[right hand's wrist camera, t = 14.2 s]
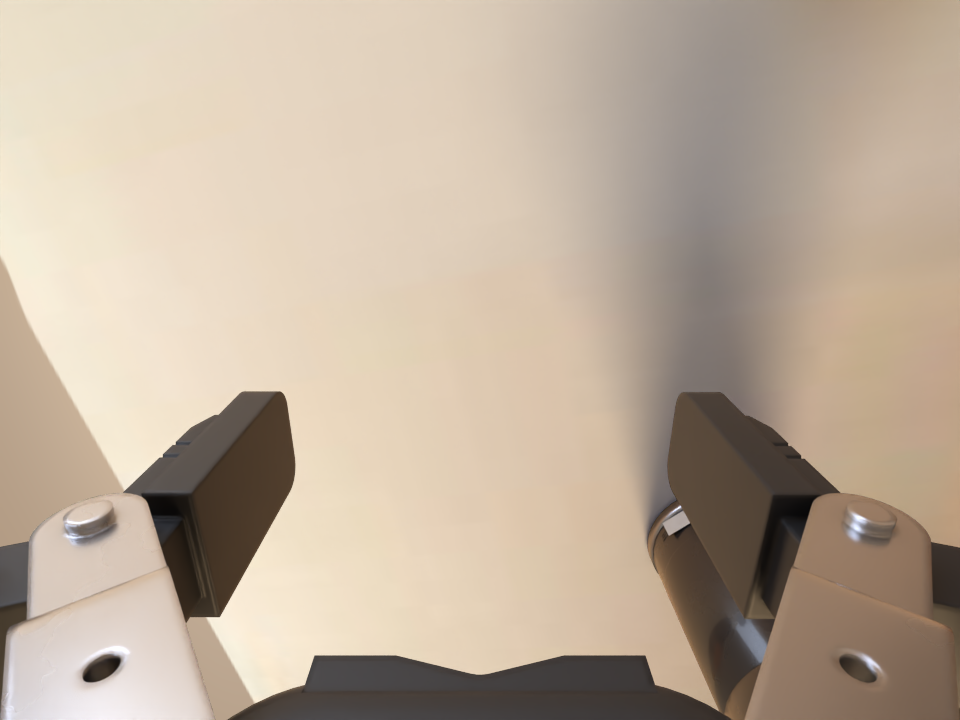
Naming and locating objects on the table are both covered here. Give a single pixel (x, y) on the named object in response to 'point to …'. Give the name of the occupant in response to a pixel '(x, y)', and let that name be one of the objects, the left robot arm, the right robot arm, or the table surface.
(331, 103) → the table surface
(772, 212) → the table surface
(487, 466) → the table surface
